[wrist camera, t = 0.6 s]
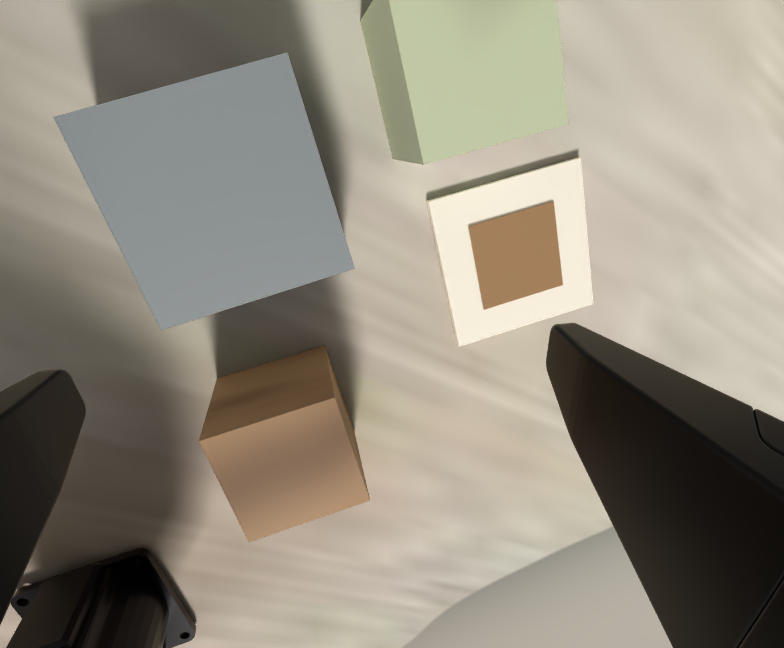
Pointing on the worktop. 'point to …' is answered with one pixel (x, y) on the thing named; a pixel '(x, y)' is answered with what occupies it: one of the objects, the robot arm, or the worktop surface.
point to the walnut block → (283, 444)
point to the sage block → (464, 73)
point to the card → (513, 250)
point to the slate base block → (212, 189)
